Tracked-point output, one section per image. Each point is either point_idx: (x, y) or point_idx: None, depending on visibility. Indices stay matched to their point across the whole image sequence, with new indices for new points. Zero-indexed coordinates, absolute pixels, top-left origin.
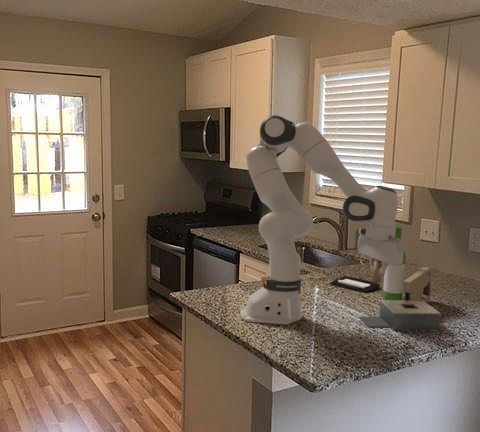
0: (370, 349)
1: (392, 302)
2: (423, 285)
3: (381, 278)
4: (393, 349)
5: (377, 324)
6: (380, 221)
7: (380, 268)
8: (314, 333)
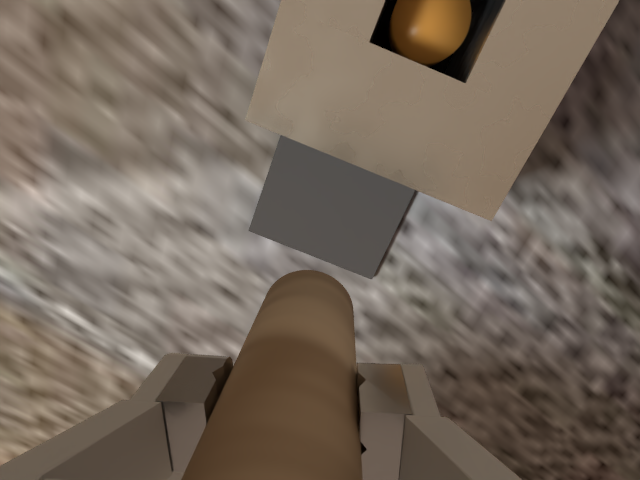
0: (557, 412)
1: (319, 74)
2: None
3: (343, 308)
4: (610, 344)
5: (373, 223)
6: None
7: (375, 472)
8: None
